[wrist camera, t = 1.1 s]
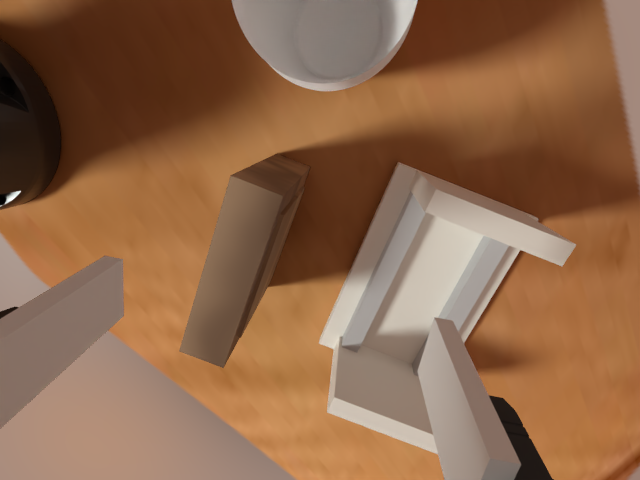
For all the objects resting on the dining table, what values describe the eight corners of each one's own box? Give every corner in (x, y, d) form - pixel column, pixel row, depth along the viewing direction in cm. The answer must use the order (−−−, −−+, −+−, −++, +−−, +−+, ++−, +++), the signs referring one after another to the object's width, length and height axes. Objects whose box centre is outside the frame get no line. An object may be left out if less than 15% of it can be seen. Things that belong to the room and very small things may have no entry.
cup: (425, 18, 27) (471, -50, 16) (347, 122, 30) (339, 126, 19) (326, -69, 26) (302, -207, 15) (255, 47, 29) (188, 4, 18)
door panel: (236, 275, 35) (179, 351, 24) (277, 153, 31) (230, 175, 20) (269, 288, 35) (227, 369, 24) (313, 167, 32) (287, 197, 20)
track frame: (320, 337, 37) (308, 404, 28) (397, 161, 31) (412, 179, 22) (434, 381, 37) (457, 461, 28) (533, 215, 31) (599, 253, 22)
